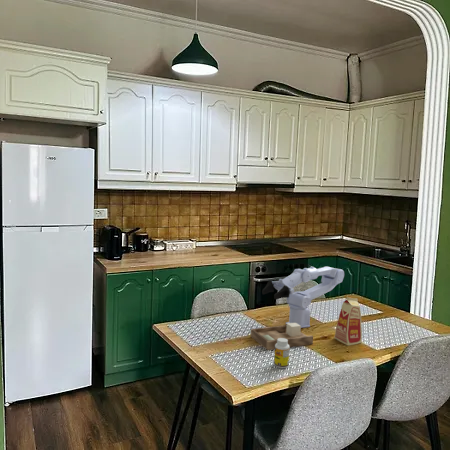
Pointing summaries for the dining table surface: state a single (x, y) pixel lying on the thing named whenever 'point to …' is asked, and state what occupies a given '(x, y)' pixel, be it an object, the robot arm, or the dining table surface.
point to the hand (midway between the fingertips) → (268, 294)
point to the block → (293, 329)
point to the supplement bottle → (281, 353)
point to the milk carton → (349, 323)
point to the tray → (271, 334)
